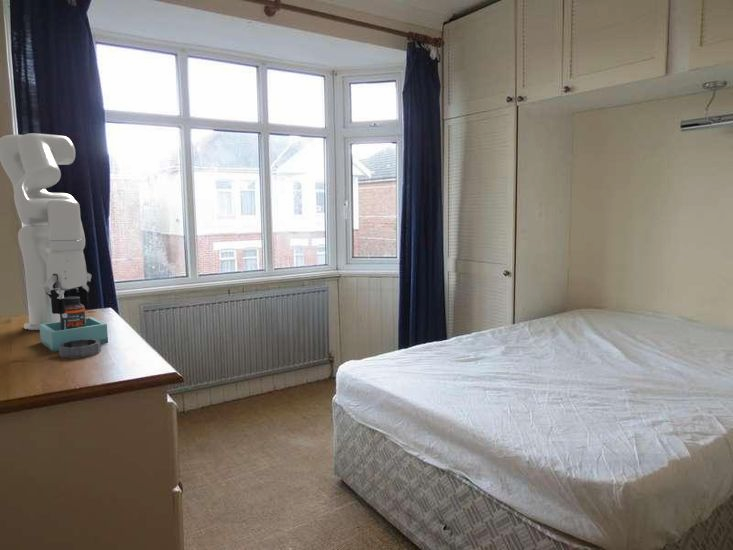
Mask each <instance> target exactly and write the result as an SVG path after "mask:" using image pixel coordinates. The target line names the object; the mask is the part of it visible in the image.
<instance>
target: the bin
mask: <svg viewBox="0 0 733 550" xmlns="http://www.w3.org/2000/svg"><path fill="white" fill-rule="evenodd" d="M85 320H86V327H79V328H72V329H66V330H61V324H60V322H53V323H46V324H39V326H40V330H39V334H40V335H39V336H40V343H41V344H42V345H44V346H45V347H47V348H48V349H49V350H50V351H52V352H59V345H60V344H62V343H65V342H68V341H73V340H79V339H98V340H99V341H100V344H105V343H109V337H108V335H109V334H108V324H107V323H105V322H103V321H101V320H98V319H97V318H95V317H93V316H90V317H85Z"/></svg>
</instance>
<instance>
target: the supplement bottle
mask: <svg viewBox="0 0 733 550" xmlns="http://www.w3.org/2000/svg"><path fill="white" fill-rule="evenodd" d="M63 299H64V306H65V313H64V314H60V324H61V330H66V329H72V328H79V327H86V320H85V318H86V306H84V305H82V304H81V303H80V297H77V296H76V295H74V296H72V295H71V296H64V298H63Z"/></svg>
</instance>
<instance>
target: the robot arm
mask: <svg viewBox="0 0 733 550" xmlns="http://www.w3.org/2000/svg"><path fill="white" fill-rule="evenodd" d="M75 159H76V148H75V145H74V143H73V142H72V140H71V139H70V138H69V137H67V136H66V135H59V134H49V133H48V134H47V133H34V132H33V133H32V132H31V133H25V134H7V135H3V136H2V137H0V164H1V166H2V168H3V170H4V172H5V173H6V174H7V176H8V178H9V180H10V181H11V184H12V188H13V199H14V200H13V201H14V206H15V208H16V211H17V215H18V218H19V220H20V222H21V223H22V224H23V225H24V226H22V227H21V228H20V229H19V230H18V233H17V240H18V245H19V248H20V252H21V255H22V260H23V265H24V266H23V267H24V275H25V286H26V287H25V288H26V295H27V308H28V318H29V322H26V323H24V324H23V328H24V329H25V330H27V329H28V330H29V331H40V326H39V324H46V323H53V322H60V314H64V313H65V306H64V299H63V298H65V295H64V294H65V291H70V290H75V289H76V292H75V296H77V297H80V303H81V304H82V305H84V307H89V305H90V302H89V292H90V286H91V279H92V274H91V273H89V272H88V271H87V264H86V259H85V258H86V257H85V253H84V249H85V248H86V237H85V236H86V235H85V231H84V227H83V222H82V219H81V208H80V206H81V205H80V203H79V202H78V201H77V200H76V199H75V197H74V196H72V195H71V194H69V193H66V192H49V191H48V190H47V189H48V188H50V187H53V186H55V185H56V184H57V183H58V182H59V181H60V179H61V176H62V173H61V169H60V168H59V165H61V166H62V165H63V166H64V165H65V166H66V165H67V166H68V165H71V164H73V163H74V161H75Z"/></svg>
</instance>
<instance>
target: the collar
mask: <svg viewBox="0 0 733 550" xmlns="http://www.w3.org/2000/svg"><path fill="white" fill-rule="evenodd" d="M101 344H102V343H100V341H99V340H98V339H79V340H73V341H68V342H65V343H62V344H60V345H59V351H58V354H59V355H58V356H59V357H60V358H62V359H80V358H86V357H91V356H94V355H97V354H99V353H100V352H101V351H102V348H101V346H102V345H101Z"/></svg>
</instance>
